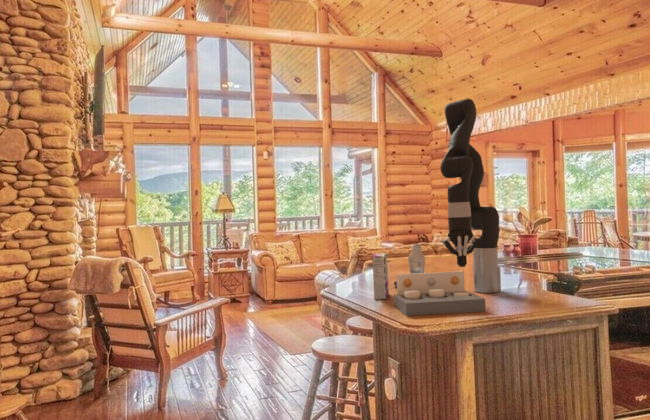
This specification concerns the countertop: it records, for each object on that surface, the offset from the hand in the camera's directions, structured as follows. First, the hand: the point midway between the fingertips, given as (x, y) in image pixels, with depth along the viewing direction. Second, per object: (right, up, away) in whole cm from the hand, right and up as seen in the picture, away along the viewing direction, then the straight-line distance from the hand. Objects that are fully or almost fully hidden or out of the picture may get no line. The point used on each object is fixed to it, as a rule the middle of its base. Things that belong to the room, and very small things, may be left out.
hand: (462, 266), depth 162 cm
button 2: (0, -12, 0) cm, 12 cm away
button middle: (-9, -11, -1) cm, 14 cm away
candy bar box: (-25, -15, +22) cm, 36 cm away
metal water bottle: (-11, -14, +18) cm, 26 cm away
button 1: (-17, -11, -1) cm, 20 cm away
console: (-8, -14, -1) cm, 16 cm away
